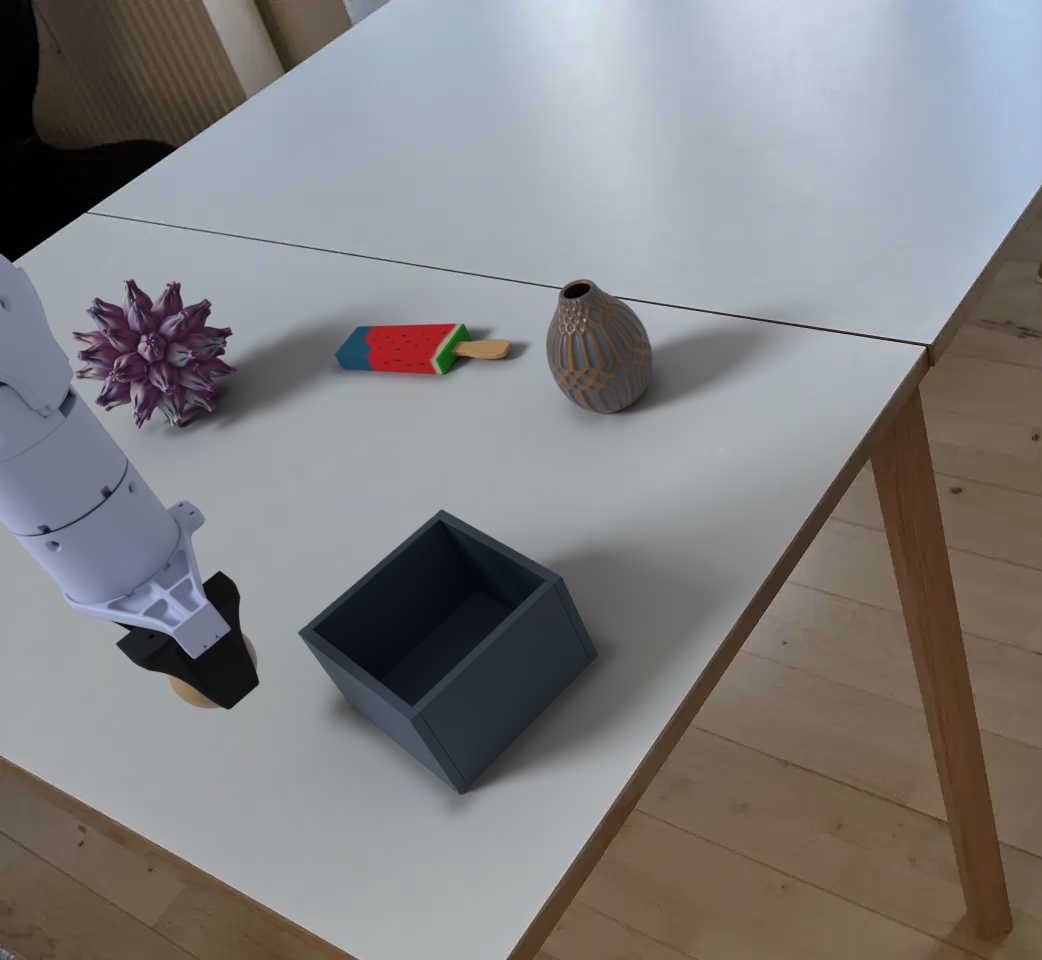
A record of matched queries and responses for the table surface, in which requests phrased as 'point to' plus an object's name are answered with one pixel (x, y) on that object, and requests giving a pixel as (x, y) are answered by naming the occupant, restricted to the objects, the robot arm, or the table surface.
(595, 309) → the vase
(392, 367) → the popsicle
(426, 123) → the table surface
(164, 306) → the flower
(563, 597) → the bin
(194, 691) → the brown ball
